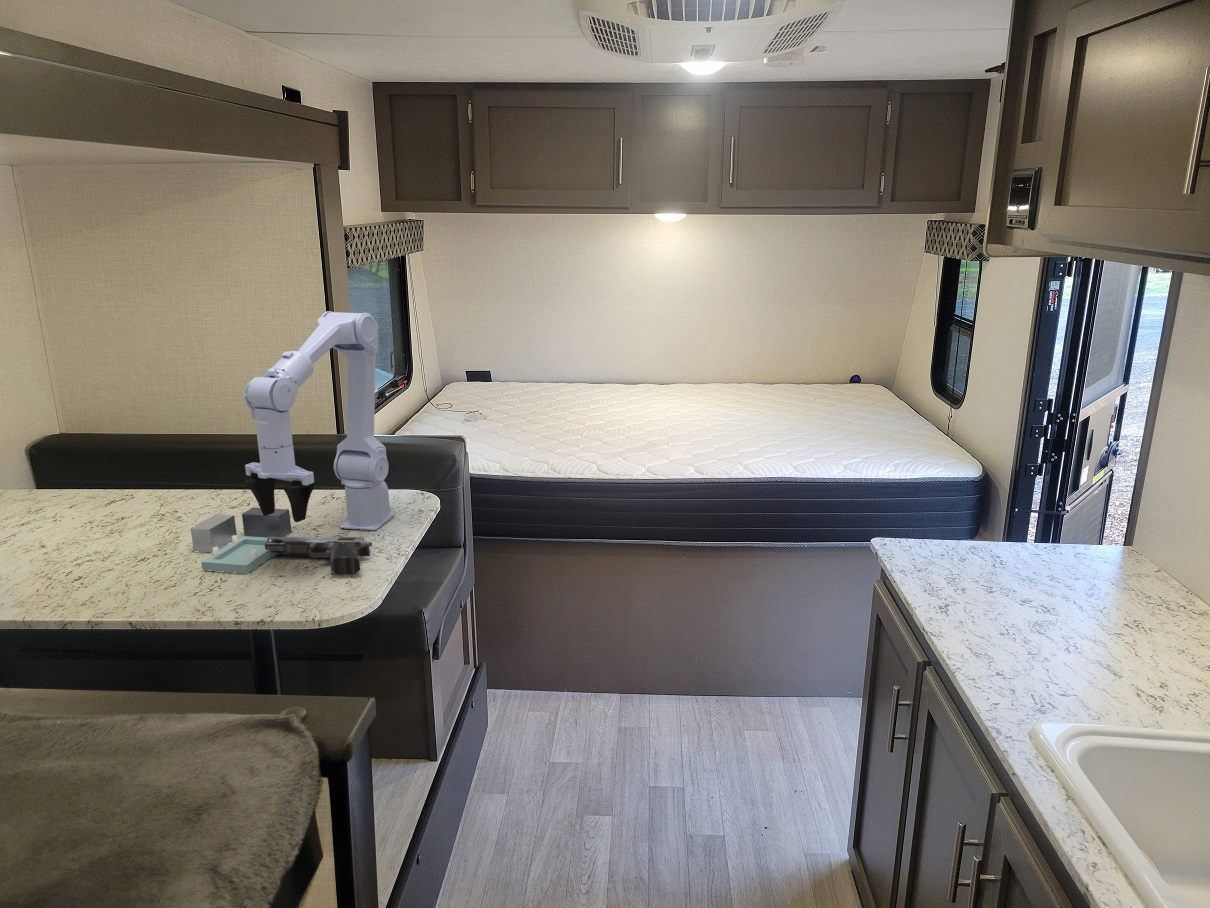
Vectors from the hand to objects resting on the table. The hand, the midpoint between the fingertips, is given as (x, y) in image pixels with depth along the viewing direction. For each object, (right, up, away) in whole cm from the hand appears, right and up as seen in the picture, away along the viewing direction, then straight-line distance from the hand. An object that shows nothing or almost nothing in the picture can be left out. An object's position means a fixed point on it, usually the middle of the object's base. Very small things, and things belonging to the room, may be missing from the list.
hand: (284, 517), depth 152 cm
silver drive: (-19, -7, +14) cm, 24 cm away
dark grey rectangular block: (-11, -5, +19) cm, 22 cm away
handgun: (+4, -9, +4) cm, 10 cm away
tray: (-10, -8, +7) cm, 14 cm away
